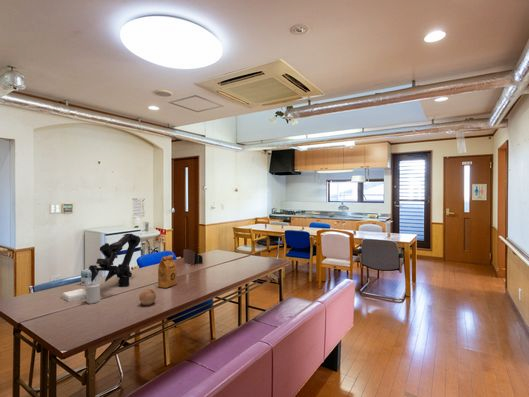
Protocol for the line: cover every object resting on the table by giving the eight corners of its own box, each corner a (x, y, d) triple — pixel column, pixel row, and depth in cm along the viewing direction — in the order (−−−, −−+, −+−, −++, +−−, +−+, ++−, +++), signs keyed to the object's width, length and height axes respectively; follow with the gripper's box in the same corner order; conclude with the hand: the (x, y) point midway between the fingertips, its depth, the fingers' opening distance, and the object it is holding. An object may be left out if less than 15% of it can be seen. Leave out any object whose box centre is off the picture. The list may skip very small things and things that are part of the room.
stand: (82, 292, 202) (82, 288, 202) (89, 296, 195) (89, 292, 195) (61, 297, 193) (61, 292, 193) (68, 301, 185) (68, 296, 185)
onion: (154, 307, 183) (161, 292, 184) (145, 309, 174) (153, 292, 176) (142, 300, 186) (150, 285, 187) (132, 301, 177) (141, 285, 178)
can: (90, 300, 188) (89, 281, 188) (102, 299, 189) (102, 280, 189) (83, 304, 181) (83, 284, 181) (96, 304, 181) (96, 284, 181)
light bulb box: (88, 286, 218) (88, 271, 218) (80, 285, 219) (80, 270, 219) (99, 281, 228) (99, 267, 228) (91, 281, 230) (91, 267, 230)
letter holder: (193, 266, 279) (193, 251, 279) (183, 262, 293) (183, 248, 293) (202, 264, 286) (202, 249, 286) (192, 261, 300) (192, 247, 300)
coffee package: (179, 284, 220) (178, 254, 220) (166, 289, 209) (166, 258, 209) (168, 283, 224) (168, 253, 224) (156, 287, 213) (155, 256, 213)
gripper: (90, 253, 196) (78, 274, 185) (117, 253, 194) (106, 274, 183) (98, 262, 204) (87, 283, 193) (124, 262, 202) (114, 283, 191)
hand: (98, 281), depth 190 cm, fingers open, 9 cm apart
